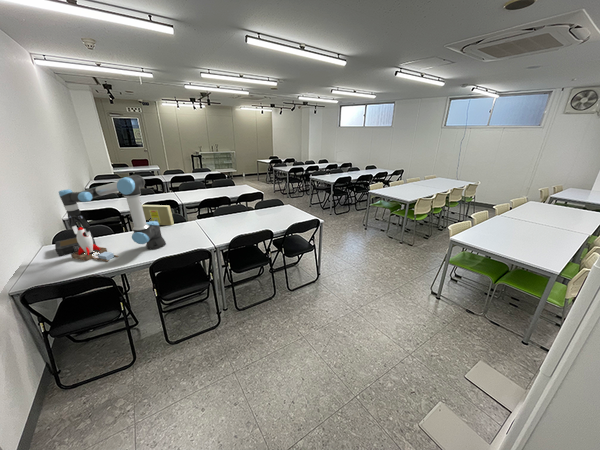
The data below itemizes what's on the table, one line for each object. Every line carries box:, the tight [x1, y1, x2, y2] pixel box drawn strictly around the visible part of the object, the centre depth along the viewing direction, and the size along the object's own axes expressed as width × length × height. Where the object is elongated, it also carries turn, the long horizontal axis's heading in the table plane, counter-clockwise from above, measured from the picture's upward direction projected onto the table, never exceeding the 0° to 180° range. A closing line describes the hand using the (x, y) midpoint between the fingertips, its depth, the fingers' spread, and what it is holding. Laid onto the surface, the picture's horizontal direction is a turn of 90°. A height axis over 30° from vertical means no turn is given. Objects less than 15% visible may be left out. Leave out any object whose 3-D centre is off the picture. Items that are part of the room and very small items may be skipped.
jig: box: [70, 246, 119, 263], centre depth 194 cm, size 34×16×4 cm, turn 73°
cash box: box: [54, 233, 97, 257], centre depth 207 cm, size 25×20×8 cm
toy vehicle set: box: [142, 204, 175, 226], centre depth 257 cm, size 35×5×22 cm, turn 85°
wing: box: [97, 251, 115, 261], centre depth 191 cm, size 9×6×4 cm, turn 73°
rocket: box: [76, 226, 100, 255], centre depth 192 cm, size 11×11×25 cm
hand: (82, 234), depth 190 cm, fingers open, 13 cm apart
